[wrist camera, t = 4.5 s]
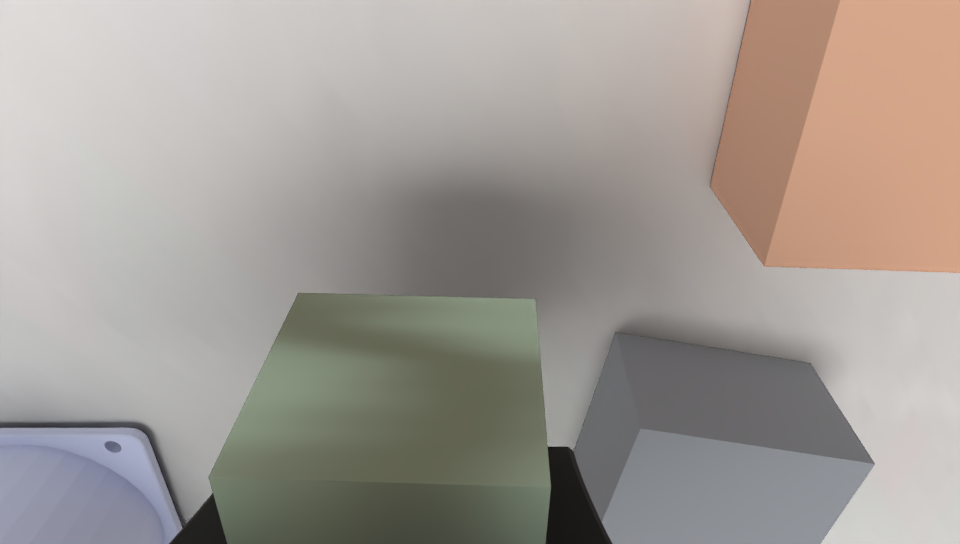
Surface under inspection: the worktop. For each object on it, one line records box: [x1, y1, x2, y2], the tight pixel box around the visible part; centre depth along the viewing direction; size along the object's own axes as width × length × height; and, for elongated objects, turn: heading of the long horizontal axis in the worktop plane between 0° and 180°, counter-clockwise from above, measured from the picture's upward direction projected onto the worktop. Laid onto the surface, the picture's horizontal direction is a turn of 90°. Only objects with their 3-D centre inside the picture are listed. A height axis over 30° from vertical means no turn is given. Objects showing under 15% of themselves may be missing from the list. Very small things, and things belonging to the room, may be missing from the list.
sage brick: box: [209, 293, 551, 544], centre depth 11 cm, size 4×6×4 cm, turn 179°
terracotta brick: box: [710, 0, 960, 273], centre depth 14 cm, size 4×6×4 cm, turn 179°
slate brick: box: [574, 332, 875, 544], centre depth 20 cm, size 6×8×4 cm
